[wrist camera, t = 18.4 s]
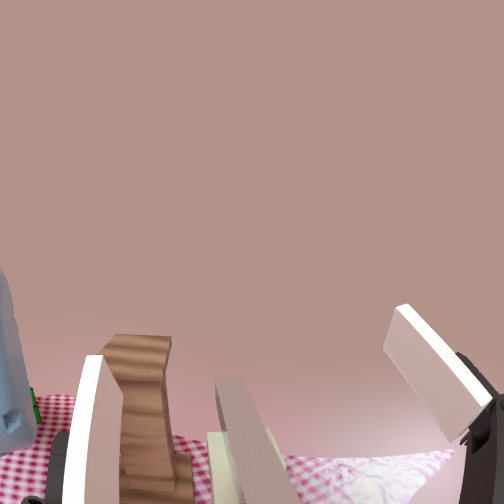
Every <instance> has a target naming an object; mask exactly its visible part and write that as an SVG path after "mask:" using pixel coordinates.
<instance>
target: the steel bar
mask: <svg viewBox="0 0 504 504" xmlns="http://www.w3.org/2000/svg"><path fill="white" fill-rule="evenodd" d="M215 390H216V391H215V392H216V393H215V394H216V405H217V409H218V415H219V420H220V424H221V429H222V434H223V439H224V443H225V448H226V452H227V457H228V461H229V465H230V469H231V474H232V478H233V482H234V486H235V490H236V494H237V498H238V501H239V504H302V502H301V500H300V499H299V497H298V495H297V493H296V491H295V489H294V487H293V485H292V483H291V481H290V479H289V477H288V475H287V473H286V471H285V469H284V467H283V465H282V463H281V461H280V459H279V457H278V455H277V453H276V451H275V449H274V447H273V445H272V443H271V441H270V438H269V436H268V434H267V432H266V430H265V428H264V426H263V424H262V421H261V419H260V417H259V415H258V413H257V411H256V409H255V406H254V404H253V402H252V399H251V397H250V395H249V393H248V391H247V388H246V386H245V383H244V381H243V379H242V377H230V378H229V377H228V378H215Z"/></svg>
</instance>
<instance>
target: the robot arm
mask: <svg viewBox="0 0 504 504" xmlns="http://www.w3.org/2000/svg"><path fill="white" fill-rule="evenodd" d="M383 349H384V351H385V352H386V353H387V355H388V356H389V357H390V359H391V360H392V362H393V363H394V364H395V366H396V367H397V368H398V370H399V371H400V372H401V374H402V375H403V376H404V378H405V379H406V380H407V382H408V383H409V385H410V386H411V388H412V389H413V390H414V392H415V393H416V394H417V396H418V397H419V399H420V400H421V401H422V403H423V404H424V406H425V407H426V409H427V410H428V412H429V413H430V414H431V416H432V417H433V419H434V420H435V422H436V423H437V424H438V426H439V427H440V429H441V430H442V432H443V433H444V435H445V436H446V438H447V439H448V441H449V442H452V441H453V440H455V439H456V438H458V437H459V436H461V435H462V434H463V433H464V432H465V431H466V429H467V428H469V430H470V431H469V432H468V433H467V434H466V435H465V436H464V437H463V439H462V440H461V442H460V445H462V444H463V443H464V442H465V441H466V440H467V441H466V443H465V445H467V451H466V460H465V469H464V476H463V483H462V489H461V494H460V500H459V504H504V394H501V395H500V394H499V393H498V392H497V391H496V390H495V389H494V388H493V387H492V386H491V384H490V383H489V382H488V381H487V379H486V378H485V377H484V376H483V375H482V374H481V373H480V372H479V370H478V369H477V368H476V367H475V366H474V365H473V364H472V362H471V361H470V360H469V359H468V358H467V357H466V356H464V355H462V354H461V353H459V352H457V353H454V352H453V351H452V350H451V349H450V348H449V347H448V346H447V345H446V344H445V343H444V342H443V340H442V339H441V338H440V337H439V336H438V335H437V334H436V333H435V332H434V331H433V330H432V329H431V328H430V327H429V325H427V323H426V322H425V321H424V320H423V319H422V318H421V317H420V316H419V315H418V314H417V313H416V312H415V311H414V310H413V309H412V308H411V307H410V306H409V305H408V304H405V305H402V306H398V307H396V308H395V311H394V315H393V318H392V322H391V325H390V328H389V331H388V334H387V337H386V340H385V343H384V346H383ZM122 405H123V393H122V392H121V390H120V388H119V386H118V384H117V382H116V380H115V379H114V377H113V375H112V373H111V371H110V369H109V367H108V365H107V363H106V361H105V359H104V357H103V355H96V356H87V357H86V361H85V365H84V369H83V373H82V377H81V381H80V385H79V390H78V394H77V399H76V403H75V408H74V413H73V419H72V424H71V430H70V433H68V432H58V433H57V435H56V437H55V438H54V440H53V442H52V446H51V452H50V454H51V456H50V459H49V466H48V473H47V481H46V490H45V499H44V500H43V499H41V498H39V497H37V496H28V497H26V498H24V499H23V500H22V502H21V504H119V454H120V432H121V417H122ZM36 436H37V421H36V417H35V414H34V411H33V401H32V396H31V391H30V387H29V382H28V378H27V373H26V368H25V363H24V359H23V354H22V349H21V344H20V339H19V334H18V329H17V325H16V320H15V318H14V311H13V303H12V298H11V293H10V289H9V286H8V282H7V279H6V277H5V275H4V273H3V271H2V270H1V269H0V457H2V456H5V455H7V454H9V453H10V452H13V451H18V450H23V449H26V448H28V447H30V446H31V445H32V444H33V443H34V441H35V439H36Z"/></svg>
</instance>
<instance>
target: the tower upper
mask: <svg viewBox="0 0 504 504" xmlns="http://www.w3.org/2000/svg"><path fill="white" fill-rule="evenodd" d="M265 430H266V432H267V434H268V436H269V438H270V441H271V443H272V445H273V447H274V449H275V451H276V453H277V455H278V457H279V459H280V461H281V463H282V465H283V467H284V469H285V471H286V466H287V463H286V461H285V460H284V458H283V456H282V454H281V452H280V450H279V448H278V446H277V444H276V442H275V440H274V438H273V436H272V434H271V432H270V430H269V428H265ZM207 447H208V461H209V473H210V484H211V491H212V497H213V504H239V501H238V498H237V494H236V490H235V486H234V482H233V478H232V474H231V469H230V465H229V461H228V457H227V452H226V448H225V443H224V439H223V434H222V432H207Z"/></svg>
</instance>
